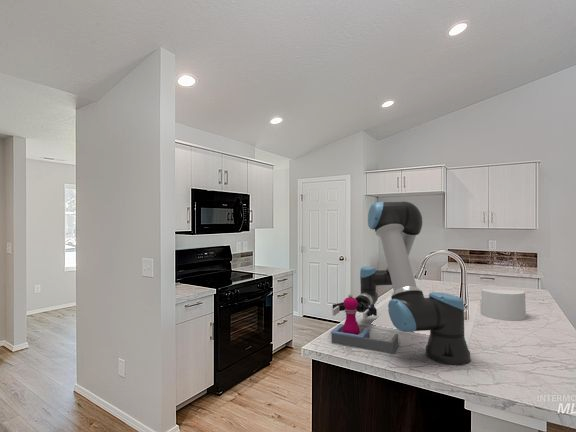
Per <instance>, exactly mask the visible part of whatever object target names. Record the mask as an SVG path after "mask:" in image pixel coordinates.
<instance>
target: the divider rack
mask: <svg viewBox="0 0 576 432" xmlns="http://www.w3.org/2000/svg"><path fill="white" fill-rule="evenodd" d="M343 325H344V323H343V324H341V323H340V324H338V325H337V326H336V327H335V328H334V329H332V330H331V331H330V334H331V343H332V344H336V345H342V346H347V347H354V348H359V349H366V350H370V351H377V352H382V353H388V354H394V353H395V350H396V349H397V347H398V346H399V344H400V343H399V342H400V341H399V340H400V339H399V333H395V334H393V337H392V338H391V340H389V341H388V340H382V339H376V338H371V337H370V336H371V333H370V331H371V328H370V327H365V329H363V330H362V332H361V333H359V334H358V335H356V334H350V333H343Z"/></svg>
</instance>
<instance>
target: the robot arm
mask: <svg viewBox="0 0 576 432" xmlns="http://www.w3.org/2000/svg"><path fill="white" fill-rule="evenodd" d="M367 225H368V228H369V229H370V230H374V232H375V235H376V236H378V237H379V238H380V240H381V245H382V249H383V253H384V256H385V262H386V265H387V267H386V269H382V270H381V269H379V270H376V267H374V266H362V267H361V268H360V271H359V274H360V275H359V277H360V278H359V279H360V281H359V282H360V294H358V296H356V297H354V298H355V299H356V300H357V302H358V306H357V307H356V309H357V310H356V311H357V312H358V313H362V320H364V321H366V320H367V318H368V317H372V316H375V317H377V315H378V314H377V313H378V312H377V311H378V310H377V308H376V307H375V304H376V303H377V301H378V298H379V295H378V292H377V286H392V290H393V293H392V295H391V297H390V298H391V300H389V301H388V302H389V303H388V304H387V305H388V306H387V307H388V310H387V311H388V315H389V319H390V321H391V323H392V325H393V326H394V327H395V329H396V330H398V331H400V332H403V333H404V332H406V333H407V332H409V333H414V332H419V331H421V332H423V331H424V332H425V331H429V337H428V339H427V344H426V345H425V355H426V356H427V358H429V359H431V360H433V361H435V362H437V363H440V364H446V365H454V366H455V365H457V366H458V365H460V366H461V365H466V364H468V363H470V362H471V351H470V350H469V348H468V347H469V346H468V345H467V342H466V339H465V307H464V306H465V305H464V300H463V299H462V297H459V296H458V295H455V294H449V293H444V292H437V291H430V292H429V295H428V297H425V295H424V293H423V290H421V289H420V288H418V286H417V284H416V280H415V275H414V272H413V269H412V266H411V263H410V262H411V261H410V259H409V255H410V253H411V250H412V247H413V245H414V242H415V240H416V236H418V235H420V232H421V230H422V227H423V217H422V212H421V211H420V210H419V207H417V205H415V204H413V203H412V202H409V201H377V202H373V203H372V204H371V205H370V207H369V210H368V213H367ZM342 311H344V312H345V306H344V301H343V302H338V303H333V304H332V317H333V316H334V317H335V316H336V315H338V314H339V313H340V312H342Z"/></svg>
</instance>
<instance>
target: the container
mask: <svg viewBox="0 0 576 432" xmlns="http://www.w3.org/2000/svg"><path fill="white" fill-rule="evenodd" d="M480 293H481V294H480V296H481V297H480V302H479V303H480V314H481V316H484V317H486V318H490V319H493V320H498V321H507V322H508V321H509V322H518V321H519V322H520V321H521V322H522V321H524V320H526V319H527V316H526V310H527V309H526V306H527V305H526V291H525V290H522V289H481V290H480Z"/></svg>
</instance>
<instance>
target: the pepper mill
mask: <svg viewBox="0 0 576 432" xmlns="http://www.w3.org/2000/svg"><path fill="white" fill-rule="evenodd" d="M355 298H356V297H353V294H352V293H349V294H348V297H346V298H344V300H343V302H344V306H345V310H344V313H345V321H344V323H343V333H350V334H356V335H360V334H361V333H360V326H359V324H358V322H357V318H356V314H357V312H358V311H356V310H357V309H356V307H357V306H358V302H357V300H356V299H355Z"/></svg>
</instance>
